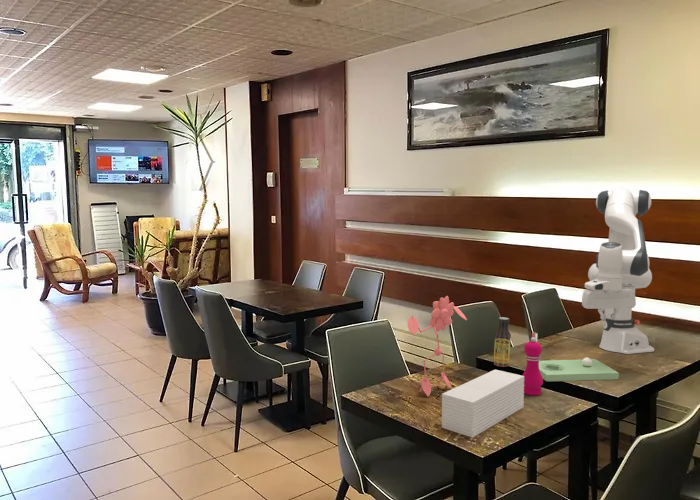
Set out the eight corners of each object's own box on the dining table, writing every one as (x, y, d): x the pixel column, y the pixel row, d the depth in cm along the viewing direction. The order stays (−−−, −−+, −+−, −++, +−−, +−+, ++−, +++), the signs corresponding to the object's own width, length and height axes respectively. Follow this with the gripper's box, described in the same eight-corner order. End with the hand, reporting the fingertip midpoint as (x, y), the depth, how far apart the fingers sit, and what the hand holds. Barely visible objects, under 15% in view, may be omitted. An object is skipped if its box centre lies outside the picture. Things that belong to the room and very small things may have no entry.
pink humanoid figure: (400, 396, 196) (402, 297, 192) (450, 381, 212) (453, 290, 208) (432, 410, 184) (435, 305, 180) (483, 393, 200) (486, 296, 196)
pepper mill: (544, 396, 195) (545, 340, 193) (522, 395, 197) (523, 339, 195) (541, 389, 202) (542, 335, 200) (520, 388, 204) (521, 334, 202)
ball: (589, 364, 223) (589, 356, 223) (593, 367, 219) (593, 358, 219) (580, 365, 223) (580, 356, 222) (584, 367, 219) (584, 358, 219)
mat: (593, 363, 232) (594, 329, 231) (618, 379, 213) (620, 341, 211) (526, 365, 230) (527, 331, 229) (546, 381, 211) (547, 343, 210)
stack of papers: (494, 399, 193) (495, 369, 192) (523, 407, 186) (524, 376, 185) (441, 428, 170) (441, 393, 169) (472, 438, 163) (473, 402, 162)
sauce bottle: (492, 366, 229) (493, 319, 227) (494, 362, 235) (495, 315, 233) (509, 368, 227) (510, 320, 225) (510, 364, 233) (511, 317, 231)
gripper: (630, 282, 222) (629, 316, 224) (580, 283, 221) (579, 318, 222) (639, 285, 216) (638, 320, 217) (588, 286, 215) (587, 321, 216)
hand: (608, 319), depth 220 cm, fingers open, 3 cm apart
